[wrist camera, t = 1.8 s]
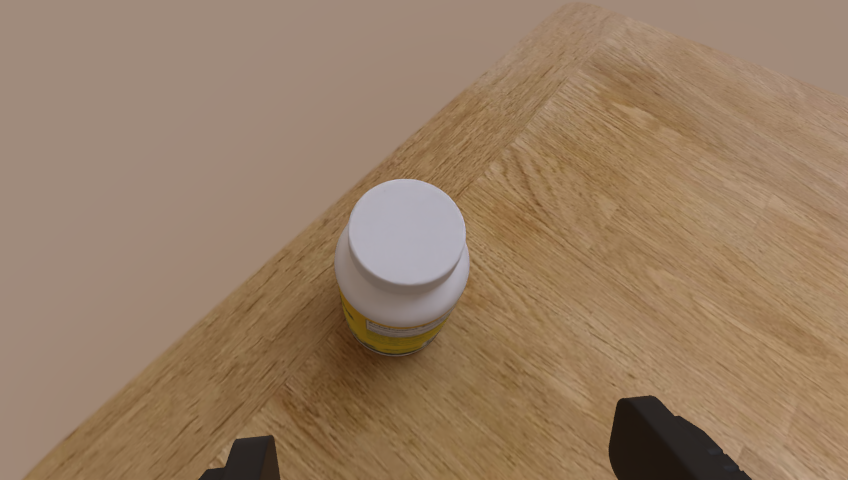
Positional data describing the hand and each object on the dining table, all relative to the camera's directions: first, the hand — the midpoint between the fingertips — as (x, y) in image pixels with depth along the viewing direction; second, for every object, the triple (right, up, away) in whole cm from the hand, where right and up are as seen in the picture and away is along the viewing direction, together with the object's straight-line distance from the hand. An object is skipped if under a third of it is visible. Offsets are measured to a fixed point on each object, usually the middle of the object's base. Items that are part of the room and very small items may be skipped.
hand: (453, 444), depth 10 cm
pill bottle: (-3, 0, +17) cm, 17 cm away
